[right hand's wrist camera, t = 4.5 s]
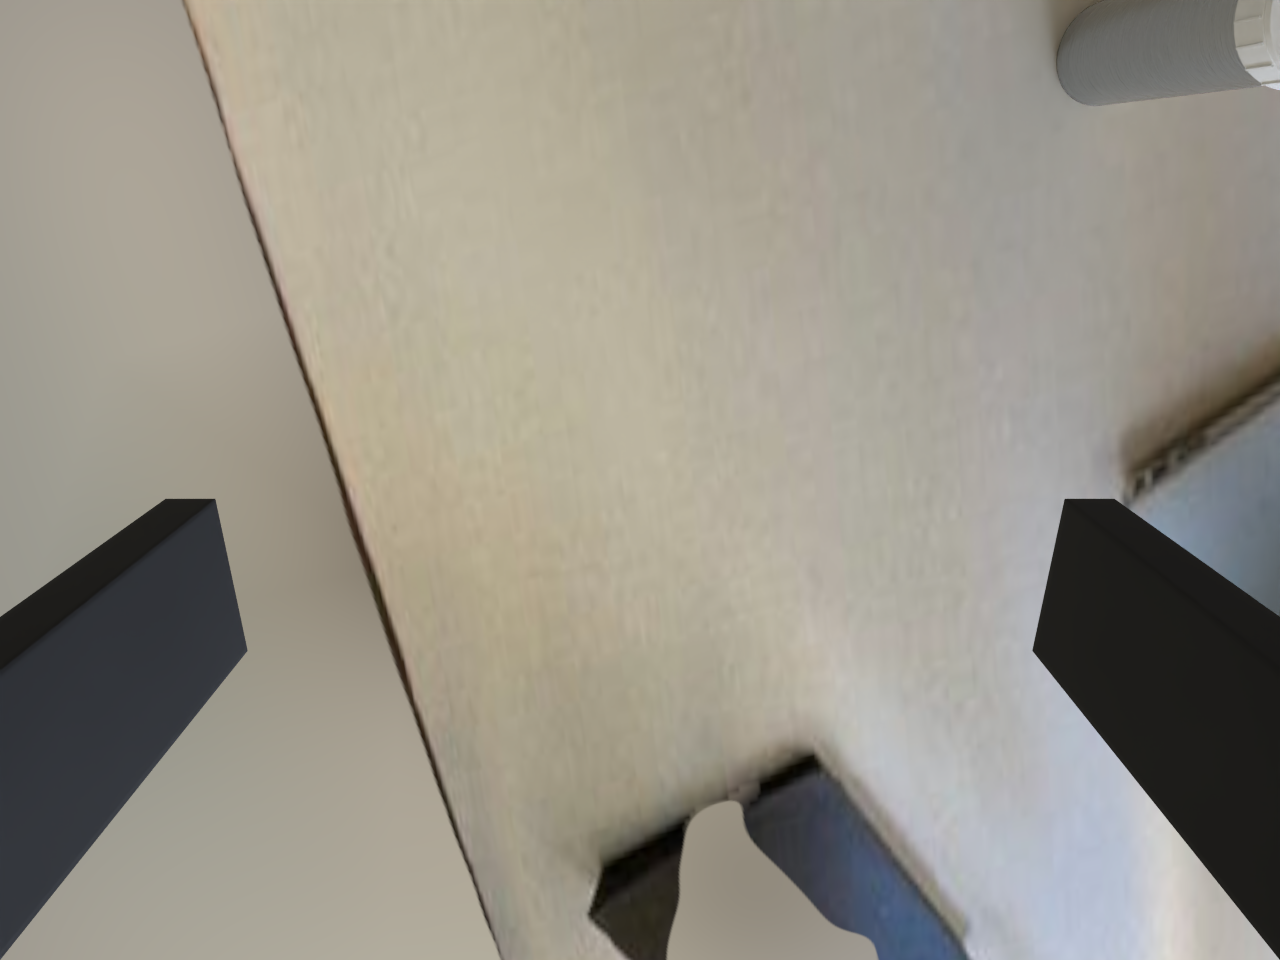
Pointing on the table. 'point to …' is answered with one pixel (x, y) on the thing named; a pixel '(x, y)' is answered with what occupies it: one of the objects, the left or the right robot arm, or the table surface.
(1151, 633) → the right robot arm
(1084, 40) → the grey cylinder
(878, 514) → the table surface
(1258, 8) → the lid
